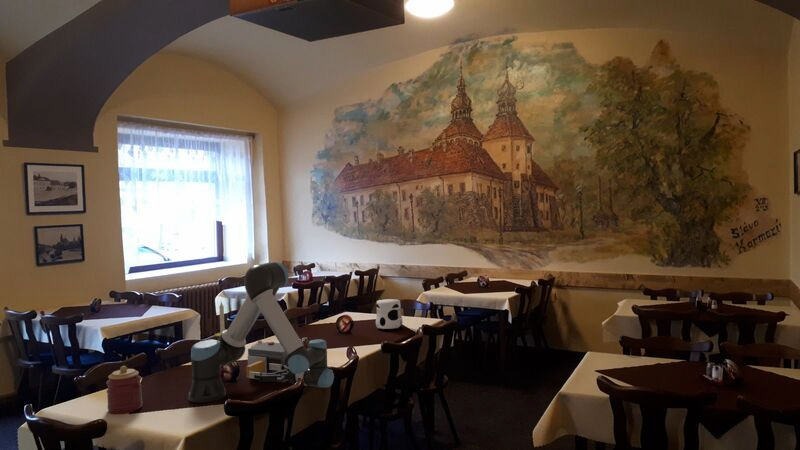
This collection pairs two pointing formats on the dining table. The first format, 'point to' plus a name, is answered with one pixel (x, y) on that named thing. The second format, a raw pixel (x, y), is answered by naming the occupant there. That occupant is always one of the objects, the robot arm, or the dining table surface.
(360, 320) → the dining table surface
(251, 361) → the side door
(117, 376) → the canister
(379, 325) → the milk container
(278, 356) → the camera body
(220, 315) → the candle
